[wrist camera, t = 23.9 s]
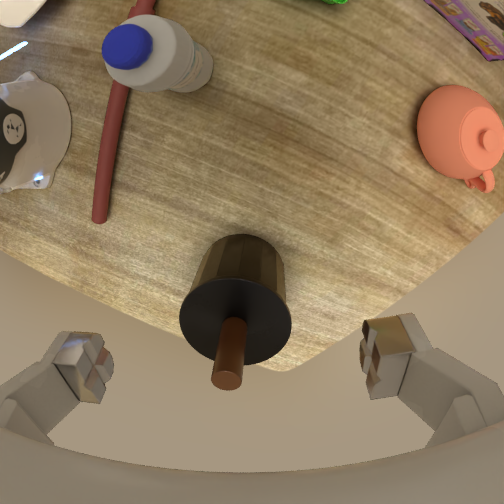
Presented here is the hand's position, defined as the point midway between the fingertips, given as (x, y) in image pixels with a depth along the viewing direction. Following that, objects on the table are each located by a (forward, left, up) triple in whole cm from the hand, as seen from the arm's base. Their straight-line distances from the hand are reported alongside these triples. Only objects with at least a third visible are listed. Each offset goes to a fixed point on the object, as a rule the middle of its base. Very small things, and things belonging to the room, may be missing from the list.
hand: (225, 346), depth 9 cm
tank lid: (-4, -16, -21) cm, 27 cm away
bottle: (-7, +12, -33) cm, 36 cm away
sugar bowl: (+26, +2, -33) cm, 42 cm away
